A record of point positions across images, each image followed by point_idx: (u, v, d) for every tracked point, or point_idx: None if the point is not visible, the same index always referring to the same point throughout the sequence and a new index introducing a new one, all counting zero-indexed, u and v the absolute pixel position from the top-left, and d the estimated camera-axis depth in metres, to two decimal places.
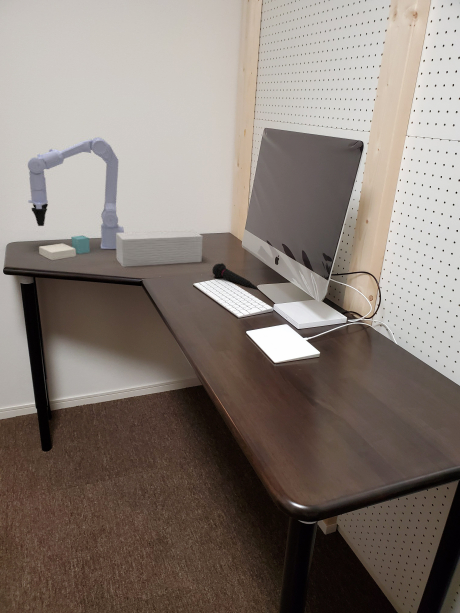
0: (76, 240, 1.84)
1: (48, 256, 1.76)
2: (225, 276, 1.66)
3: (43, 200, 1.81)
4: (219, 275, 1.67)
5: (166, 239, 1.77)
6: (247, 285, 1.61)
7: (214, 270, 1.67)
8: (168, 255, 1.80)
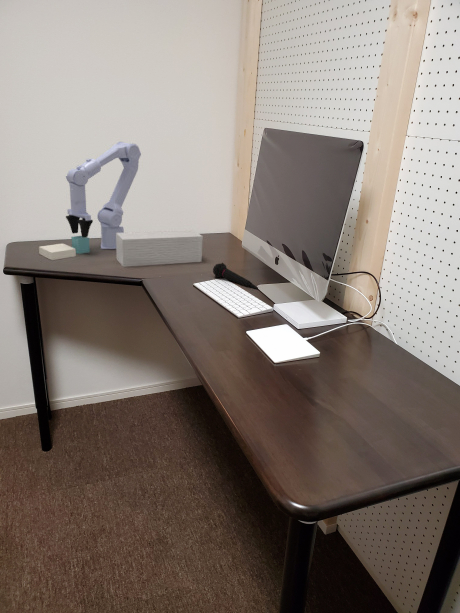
0: (76, 240, 1.84)
1: (48, 256, 1.76)
2: (225, 276, 1.66)
3: (85, 211, 1.82)
4: (220, 275, 1.67)
5: (167, 239, 1.77)
6: (247, 285, 1.61)
7: (215, 270, 1.67)
8: (168, 255, 1.80)
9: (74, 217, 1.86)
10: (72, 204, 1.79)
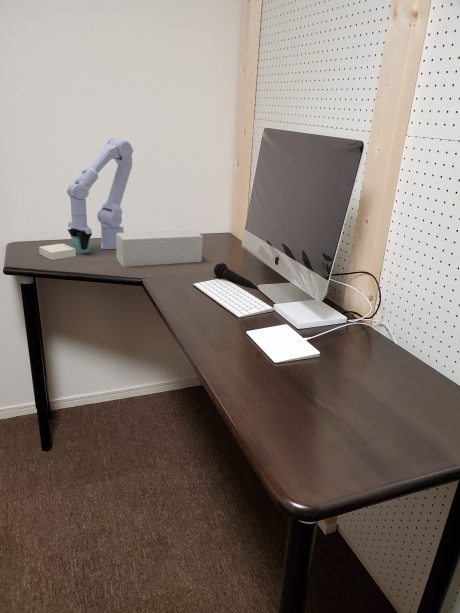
0: (76, 240, 1.84)
1: (48, 256, 1.76)
2: (226, 276, 1.66)
3: (86, 224, 1.84)
4: (220, 275, 1.67)
5: (167, 239, 1.77)
6: (248, 285, 1.61)
7: (215, 270, 1.67)
8: (168, 255, 1.80)
9: (76, 230, 1.87)
10: (73, 218, 1.81)
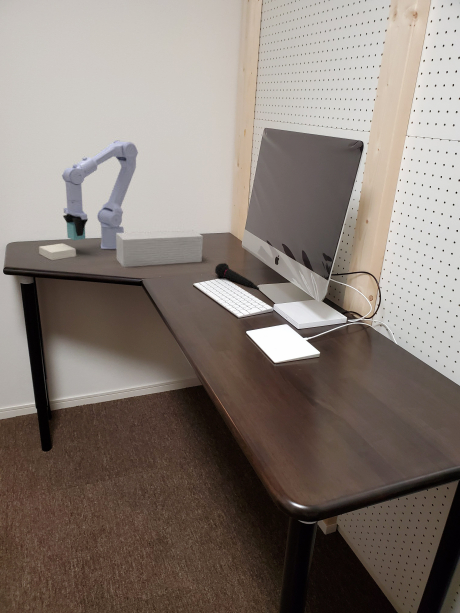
0: (71, 226, 1.80)
1: (48, 256, 1.76)
2: (227, 276, 1.66)
3: (81, 210, 1.80)
4: (221, 275, 1.68)
5: (167, 239, 1.77)
6: (249, 285, 1.61)
7: (217, 270, 1.68)
8: (168, 255, 1.80)
9: (72, 216, 1.84)
10: (68, 203, 1.77)
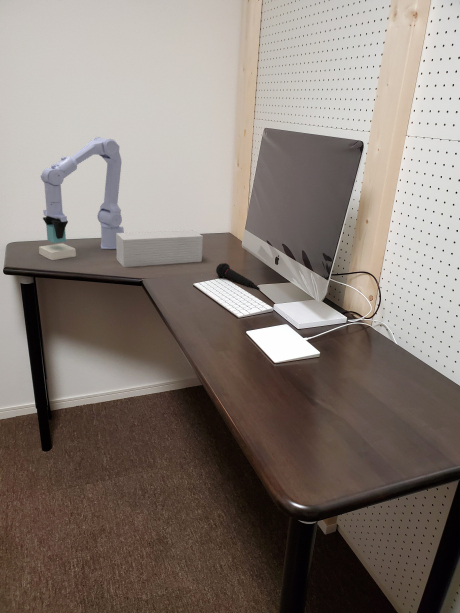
0: (51, 228, 1.74)
1: (48, 256, 1.76)
2: (228, 276, 1.66)
3: (61, 212, 1.75)
4: (222, 275, 1.68)
5: (167, 239, 1.77)
6: (249, 285, 1.61)
7: (217, 270, 1.68)
8: (169, 255, 1.80)
9: (52, 219, 1.78)
10: (47, 205, 1.72)
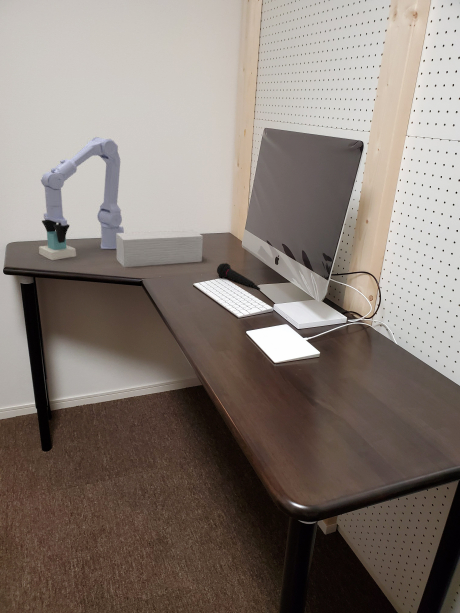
0: (52, 235, 1.75)
1: (48, 256, 1.76)
2: (229, 276, 1.66)
3: (61, 216, 1.75)
4: (223, 275, 1.68)
5: (167, 239, 1.77)
6: (250, 285, 1.61)
7: (218, 270, 1.68)
8: (169, 255, 1.80)
9: (51, 222, 1.79)
10: (47, 208, 1.72)
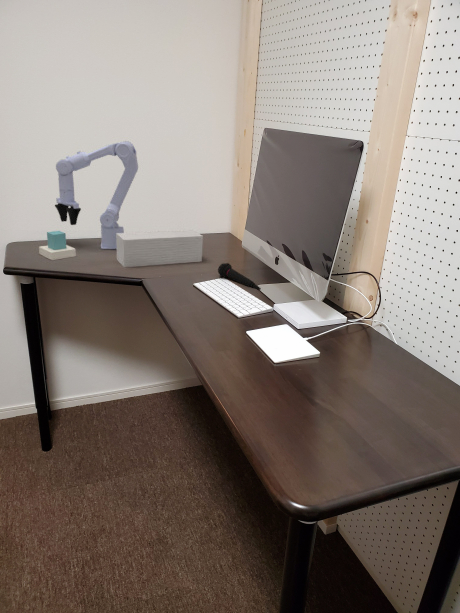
0: (52, 235, 1.75)
1: (48, 256, 1.76)
2: (230, 276, 1.66)
3: (73, 200, 1.89)
4: (224, 275, 1.68)
5: (167, 239, 1.77)
6: (250, 285, 1.61)
7: (219, 269, 1.68)
8: (169, 255, 1.80)
9: (63, 206, 1.93)
10: (61, 193, 1.86)
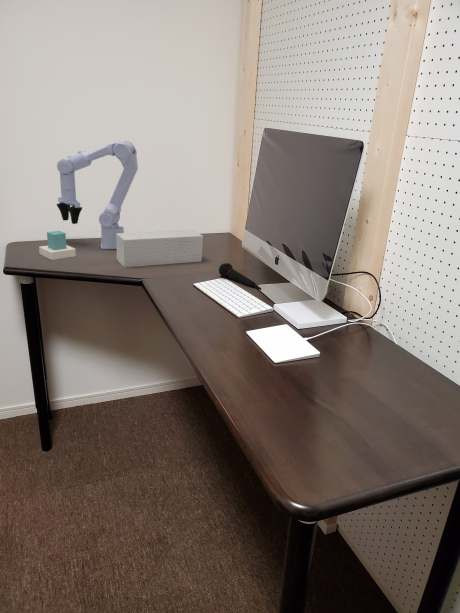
0: (52, 235, 1.75)
1: (48, 256, 1.76)
2: (230, 276, 1.66)
3: (75, 199, 1.91)
4: (225, 275, 1.68)
5: (167, 239, 1.77)
6: (251, 285, 1.61)
7: (220, 269, 1.68)
8: (169, 255, 1.80)
9: (64, 205, 1.95)
10: (62, 192, 1.88)
